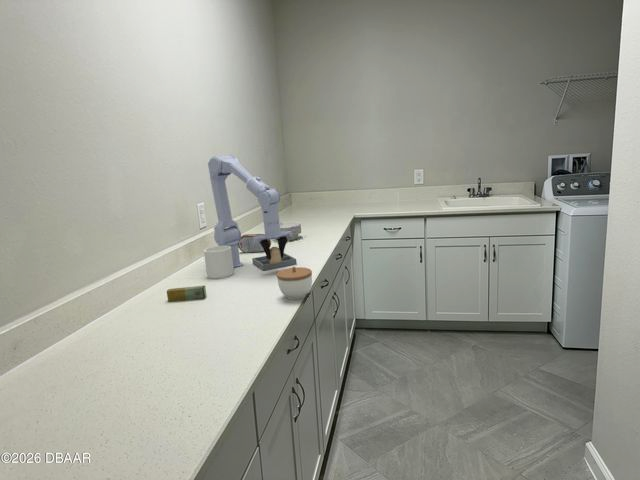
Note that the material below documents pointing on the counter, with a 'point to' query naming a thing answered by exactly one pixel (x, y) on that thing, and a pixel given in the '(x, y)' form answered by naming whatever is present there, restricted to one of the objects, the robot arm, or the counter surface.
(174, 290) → the medication box
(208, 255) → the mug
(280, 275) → the lidded jar
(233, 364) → the counter surface
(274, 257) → the egg
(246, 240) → the tin
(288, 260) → the grey compartment tray
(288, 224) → the paper bowls
